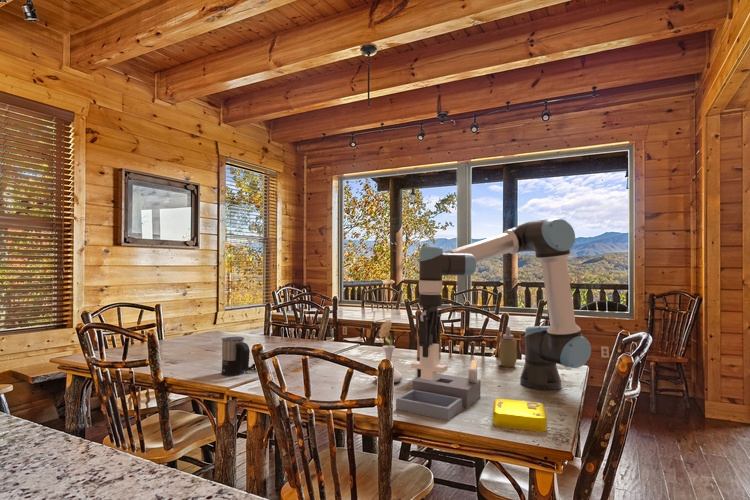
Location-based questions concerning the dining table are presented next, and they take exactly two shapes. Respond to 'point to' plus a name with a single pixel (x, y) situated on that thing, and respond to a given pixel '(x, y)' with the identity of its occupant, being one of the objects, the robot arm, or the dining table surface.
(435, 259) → the robot arm
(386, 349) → the flower in vase
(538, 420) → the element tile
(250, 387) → the dining table surface
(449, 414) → the tray
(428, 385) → the socket block
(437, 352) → the plug
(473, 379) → the clip
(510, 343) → the squeeze bottle
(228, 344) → the milk frother
